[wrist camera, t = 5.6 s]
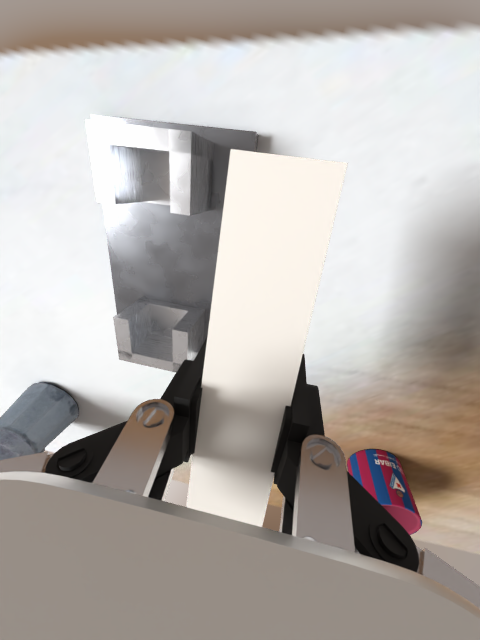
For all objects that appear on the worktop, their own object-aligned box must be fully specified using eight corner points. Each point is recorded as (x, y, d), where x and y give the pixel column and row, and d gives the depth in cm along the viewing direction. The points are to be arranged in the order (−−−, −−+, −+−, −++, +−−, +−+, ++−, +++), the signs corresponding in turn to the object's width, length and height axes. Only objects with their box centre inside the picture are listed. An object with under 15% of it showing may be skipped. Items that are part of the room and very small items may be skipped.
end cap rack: (257, 134, 21) (244, 116, 15) (231, 354, 31) (218, 389, 26) (100, 117, 22) (37, 96, 17) (125, 331, 33) (92, 360, 28)
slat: (318, 201, 11) (347, 162, 6) (256, 486, 16) (246, 590, 11) (250, 192, 11) (230, 148, 7) (208, 474, 16) (178, 570, 11)
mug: (411, 459, 33) (435, 518, 27) (371, 497, 38) (385, 554, 32) (361, 442, 34) (375, 496, 28) (328, 481, 39) (334, 535, 33)
